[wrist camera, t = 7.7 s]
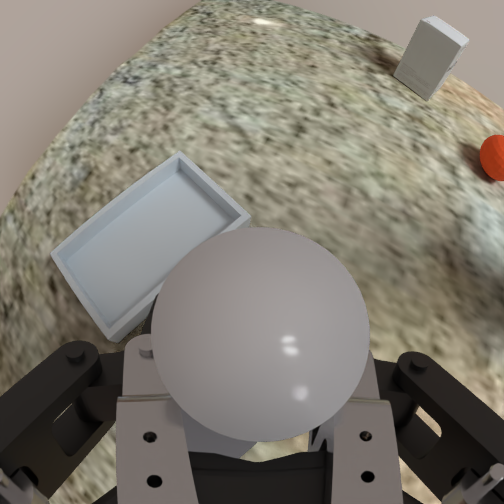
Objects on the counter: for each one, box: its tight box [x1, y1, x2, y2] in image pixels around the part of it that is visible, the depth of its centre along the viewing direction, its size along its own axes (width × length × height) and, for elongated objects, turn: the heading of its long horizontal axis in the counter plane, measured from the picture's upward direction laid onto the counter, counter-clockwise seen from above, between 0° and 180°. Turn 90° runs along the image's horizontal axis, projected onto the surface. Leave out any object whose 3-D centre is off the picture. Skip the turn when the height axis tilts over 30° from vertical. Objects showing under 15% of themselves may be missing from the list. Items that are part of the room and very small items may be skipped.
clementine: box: [480, 135, 504, 181], centre depth 35 cm, size 8×7×7 cm
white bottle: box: [151, 227, 370, 442], centre depth 11 cm, size 4×4×12 cm
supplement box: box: [393, 15, 470, 101], centre depth 38 cm, size 7×7×13 cm
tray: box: [50, 151, 251, 343], centre depth 28 cm, size 16×10×3 cm, turn 135°
